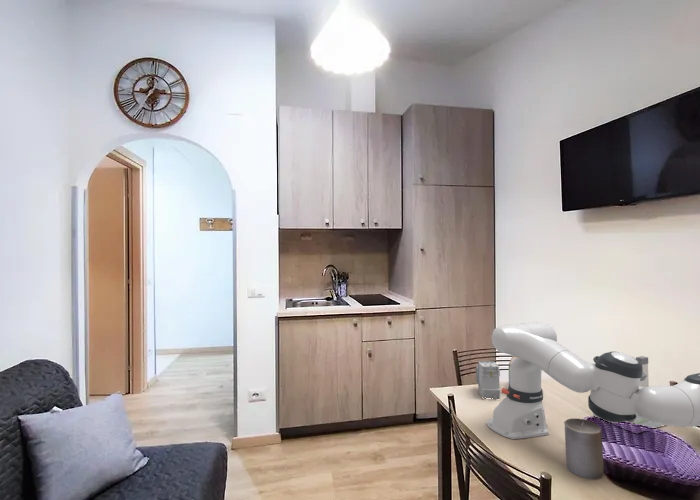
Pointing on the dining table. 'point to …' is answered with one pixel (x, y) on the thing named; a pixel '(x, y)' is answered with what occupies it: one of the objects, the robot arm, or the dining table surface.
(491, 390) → the circuit breaker
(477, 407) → the dining table surface
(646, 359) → the lever
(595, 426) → the pillar candle
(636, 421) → the panel
